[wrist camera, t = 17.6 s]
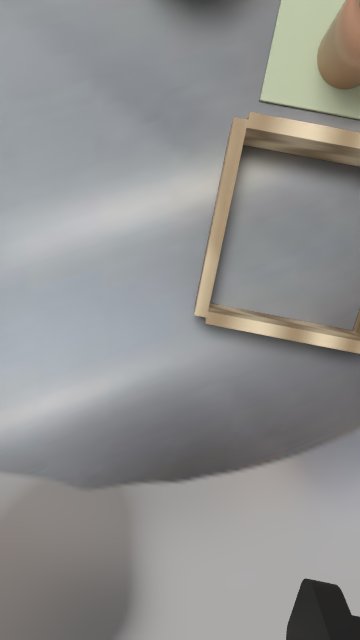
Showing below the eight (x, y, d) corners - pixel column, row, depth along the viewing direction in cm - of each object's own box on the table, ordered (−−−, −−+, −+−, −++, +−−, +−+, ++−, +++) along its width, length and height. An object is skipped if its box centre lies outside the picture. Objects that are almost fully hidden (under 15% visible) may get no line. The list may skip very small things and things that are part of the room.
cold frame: (193, 311, 38) (193, 321, 33) (230, 128, 34) (235, 109, 29) (360, 343, 37) (384, 358, 33) (418, 163, 33) (455, 150, 28)
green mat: (259, 101, 33) (260, 99, 33) (286, -23, 31) (286, -26, 30) (404, 128, 33) (406, 127, 32) (442, 5, 30) (444, 3, 30)
